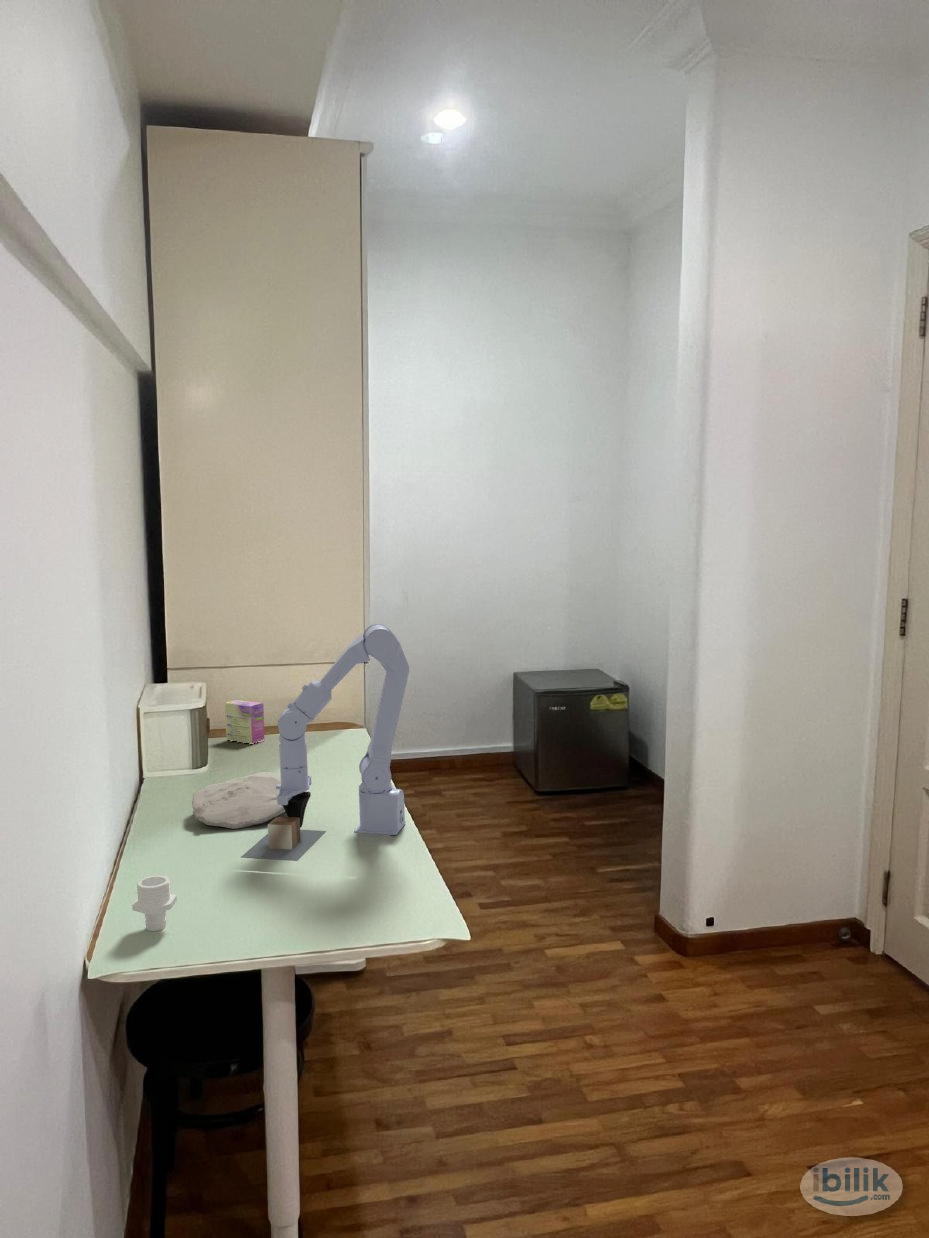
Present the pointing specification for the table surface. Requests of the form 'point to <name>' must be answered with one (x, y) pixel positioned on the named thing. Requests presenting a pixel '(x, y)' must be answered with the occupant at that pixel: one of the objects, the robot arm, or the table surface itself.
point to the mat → (264, 852)
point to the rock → (239, 801)
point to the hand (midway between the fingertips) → (296, 827)
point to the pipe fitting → (154, 901)
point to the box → (244, 721)
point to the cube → (284, 833)
